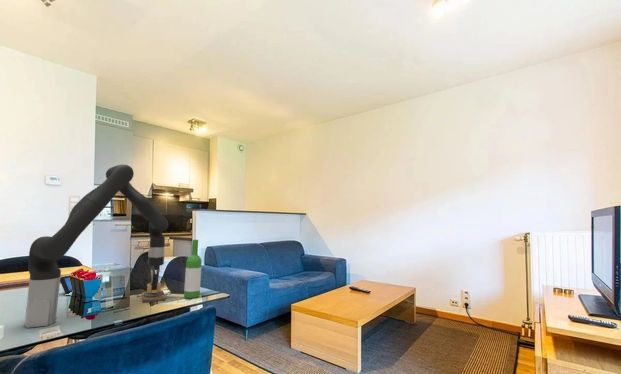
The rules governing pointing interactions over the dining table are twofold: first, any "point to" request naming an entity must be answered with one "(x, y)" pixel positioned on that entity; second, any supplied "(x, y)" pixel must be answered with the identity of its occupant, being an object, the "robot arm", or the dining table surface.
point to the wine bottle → (193, 273)
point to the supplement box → (98, 295)
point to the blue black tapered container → (67, 284)
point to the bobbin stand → (153, 297)
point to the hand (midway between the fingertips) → (153, 288)
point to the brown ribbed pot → (149, 290)
